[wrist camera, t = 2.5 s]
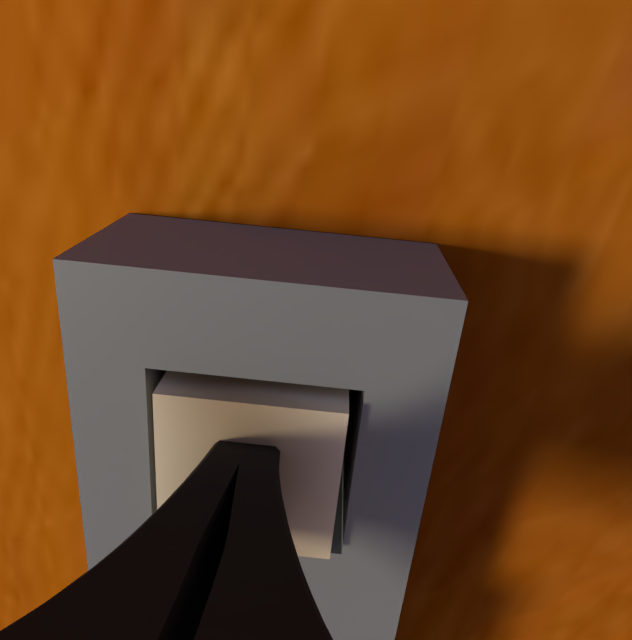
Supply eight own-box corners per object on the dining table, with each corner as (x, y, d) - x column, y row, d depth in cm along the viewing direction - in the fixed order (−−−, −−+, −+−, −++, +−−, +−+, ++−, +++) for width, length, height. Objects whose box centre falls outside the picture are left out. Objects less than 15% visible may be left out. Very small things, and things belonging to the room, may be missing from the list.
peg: (348, 337, 14) (348, 414, 11) (333, 460, 16) (329, 559, 13) (197, 321, 14) (152, 393, 11) (197, 445, 16) (157, 540, 13)
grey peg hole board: (436, 244, 14) (468, 301, 10) (355, 687, 21) (356, 813, 18) (129, 213, 14) (52, 258, 10) (153, 664, 21) (113, 785, 18)
